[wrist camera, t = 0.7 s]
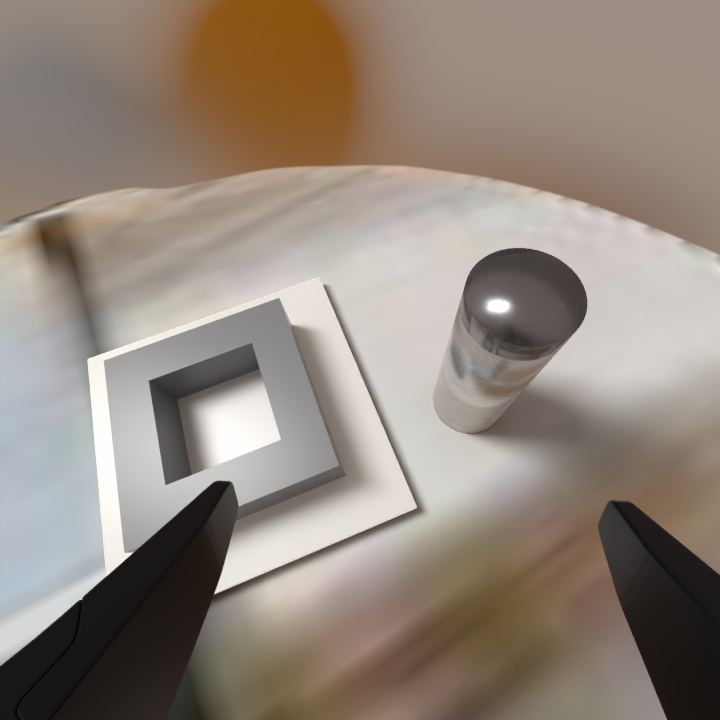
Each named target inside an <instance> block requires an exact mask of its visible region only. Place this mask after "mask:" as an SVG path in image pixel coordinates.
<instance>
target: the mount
mask: <svg viewBox="0 0 720 720" xmlns="http://www.w3.org/2000/svg"><path fill="white" fill-rule="evenodd" d="M88 370H89V382H90V394H91V405H92V417H93V428H94V440H95V451H96V463H97V474H98V486H99V497H100V509H101V520H102V532H103V543H104V555H105V567H106V576H107V575H108V574H110V573H111V572H112V571H113V570H114V569H115V568H116V567H117V566H119V565H120V564H121V563H122V562H123V561H124V560H125V559H127V558H128V557H129V556H130V555H131V554H132V553H133V552H135V551H136V550H137V549H138V548H139V547H140V546H141V545H142V544H144V543H145V542H146V541H147V540H148V539H149V538H150V537H152V536H153V535H154V534H155V533H156V532H157V531H158V530H159V529H161V528H162V527H163V526H164V525H165V524H166V523H167V522H169V521H170V520H171V519H172V518H173V517H174V516H175V515H176V514H178V513H179V512H180V511H181V510H182V509H183V508H184V507H186V506H187V505H188V504H189V503H190V502H191V501H192V500H194V499H195V498H196V497H197V496H198V495H199V494H200V493H201V492H203V491H204V490H205V489H206V488H207V487H208V486H209V485H211V484H212V483H213V482H215V481H218V480H220V481H231V482H232V483H233V485H234V489H235V492H236V496H237V499H238V505H239V507H238V513H237V517H236V521H235V525H234V529H233V533H232V537H231V540H230V544H229V548H228V552H227V556H226V560H225V563H224V567H223V570H222V574H221V577H220V579H219V582H218V585H217V588H216V590H215V593H214V595H215V594H218V593H220V592H222V591H225V590H227V589H229V588H232V587H234V586H237V585H239V584H241V583H244V582H246V581H248V580H251V579H253V578H255V577H258V576H260V575H262V574H265V573H267V572H269V571H272V570H274V569H276V568H279V567H281V566H283V565H286V564H288V563H291V562H293V561H295V560H298V559H300V558H302V557H305V556H307V555H309V554H312V553H314V552H316V551H319V550H321V549H323V548H326V547H328V546H330V545H333V544H335V543H338V542H340V541H342V540H345V539H347V538H349V537H352V536H354V535H356V534H359V533H361V532H363V531H366V530H368V529H370V528H373V527H375V526H377V525H380V524H382V523H384V522H387V521H389V520H392V519H394V518H396V517H399V516H401V515H403V514H406V513H408V512H410V511H413V510H415V509H417V506H416V503H415V501H414V499H413V496H412V494H411V492H410V489H409V487H408V484H407V482H406V480H405V477H404V475H403V473H402V470H401V468H400V466H399V463H398V461H397V459H396V456H395V454H394V451H393V449H392V447H391V444H390V442H389V440H388V437H387V435H386V433H385V430H384V428H383V426H382V423H381V421H380V418H379V416H378V414H377V411H376V409H375V407H374V404H373V402H372V400H371V397H370V395H369V393H368V390H367V388H366V385H365V383H364V381H363V378H362V376H361V374H360V371H359V369H358V367H357V364H356V362H355V360H354V357H353V355H352V352H351V350H350V348H349V345H348V343H347V341H346V338H345V336H344V334H343V331H342V329H341V327H340V324H339V322H338V319H337V317H336V315H335V312H334V310H333V308H332V305H331V303H330V301H329V298H328V296H327V294H326V291H325V289H324V286H323V284H322V282H321V279H320V277H316V278H313V279H311V280H308V281H305V282H302V283H299V284H297V285H294V286H291V287H288V288H285V289H283V290H280V291H277V292H274V293H271V294H269V295H266V296H263V297H260V298H257V299H255V300H252V301H249V302H246V303H243V304H241V305H238V306H235V307H232V308H229V309H227V310H224V311H221V312H218V313H215V314H213V315H210V316H207V317H204V318H201V319H199V320H196V321H193V322H190V323H187V324H185V325H182V326H179V327H176V328H173V329H171V330H168V331H165V332H162V333H159V334H157V335H154V336H151V337H148V338H145V339H143V340H140V341H137V342H134V343H131V344H129V345H126V346H123V347H120V348H117V349H115V350H112V351H109V352H106V353H103V354H101V355H98V356H95V357H92V358H89V359H88Z"/></svg>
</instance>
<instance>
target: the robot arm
mask: <svg viewBox="0 0 720 720" xmlns="http://www.w3.org/2000/svg"><path fill="white" fill-rule="evenodd" d="M238 507H239V505H238V499H237V496H236V492H235V489H234V485H233V483H232V482H231V481H220V480H218V481H215V482H213V483H212V484H211V485H209V486H208V487H207V488H206V489H205V490H204V491H203V492H201V493H200V494H199V495H198V496H197V497H196V498H195V499H194V500H192V501H191V502H190V503H189V504H188V505H187V506H186V507H184V508H183V509H182V510H181V511H180V512H179V513H178V514H176V515H175V516H174V517H173V518H172V519H171V520H170V521H169V522H167V523H166V524H165V525H164V526H163V527H162V528H161V529H159V530H158V531H157V532H156V533H155V534H154V535H153V536H152V537H150V538H149V539H148V540H147V541H146V542H145V543H144V544H142V545H141V546H140V547H139V548H138V549H137V550H136V551H135V552H133V553H132V554H131V555H130V556H129V557H128V558H127V559H125V560H124V561H123V562H122V563H121V564H120V565H119V566H117V567H116V568H115V569H114V570H113V571H112V572H111V573H110V574H108V575H107V576H106V577H105V578H104V579H103V580H102V581H100V582H99V583H98V584H97V585H96V586H95V587H94V588H93V589H91V590H90V591H89V592H88V593H87V594H86V595H85V596H84V597H83V599H82V600H79V601H78V602H76V603H75V604H74V605H73V606H72V607H71V608H70V609H69V610H67V611H66V612H65V613H64V614H63V615H62V616H61V617H59V618H58V619H57V620H56V621H55V622H53V623H52V624H51V625H50V626H49V627H48V628H46V629H45V630H44V631H43V632H42V633H41V634H39V635H38V636H37V637H36V638H35V639H33V640H32V641H31V642H30V643H28V644H27V645H26V646H25V647H23V648H22V649H21V650H20V651H18V652H17V653H16V654H15V655H13V656H12V657H11V658H10V659H8V660H7V661H6V662H5V663H3V664H2V665H1V666H0V720H167V719H168V717H169V714H170V711H171V708H172V706H173V703H174V700H175V698H176V695H177V692H178V690H179V687H180V684H181V682H182V679H183V676H184V674H185V671H186V668H187V666H188V663H189V660H190V658H191V655H192V652H193V649H194V647H195V644H196V641H197V639H198V636H199V633H200V631H201V628H202V625H203V623H204V620H205V617H206V615H207V612H208V609H209V607H210V604H211V601H212V598H213V596H214V593H215V590H216V588H217V585H218V582H219V579H220V577H221V574H222V570H223V567H224V563H225V560H226V556H227V552H228V548H229V544H230V540H231V537H232V533H233V529H234V525H235V521H236V517H237V513H238ZM598 531H599V535H600V538H601V542H602V545H603V549H604V552H605V555H606V559H607V562H608V566H609V569H610V572H611V576H612V579H613V583H614V586H615V589H616V593H617V596H618V599H619V602H620V604H621V607H622V609H623V612H624V615H625V617H626V619H627V622H628V624H629V627H630V629H631V632H632V634H633V637H634V639H635V642H636V644H637V647H638V649H639V651H640V654H641V656H642V659H643V661H644V664H645V666H646V669H647V671H648V674H649V676H650V679H651V681H652V683H653V686H654V688H655V691H656V693H657V696H658V698H659V701H660V703H661V706H662V708H663V710H664V713H665V715H666V718H667V720H720V575H719V574H718V573H717V572H716V571H714V570H713V569H712V568H711V567H710V566H708V565H707V564H706V563H705V562H703V561H702V560H701V559H700V558H699V557H697V556H696V555H695V554H694V553H692V552H691V551H690V550H689V549H688V548H686V547H685V546H684V545H683V544H682V543H680V542H679V541H678V540H677V539H675V538H674V537H673V536H672V535H671V534H669V533H668V532H667V531H666V530H664V529H663V528H662V527H661V526H660V525H658V524H657V523H656V522H655V521H653V520H652V519H651V518H650V517H649V516H647V515H646V514H645V513H644V512H643V511H641V510H640V509H639V508H638V507H636V506H635V505H634V504H633V503H631V502H629V501H625V500H610V501H608V502H607V504H606V506H605V509H604V511H603V513H602V515H601V517H600V519H599V522H598Z"/></svg>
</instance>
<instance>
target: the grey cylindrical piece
mask: <svg viewBox="0 0 720 720" xmlns="http://www.w3.org/2000/svg"><path fill="white" fill-rule="evenodd" d="M586 311H587V296H586V292H585V289H584V286H583V284H582V282H581V281H580V279H579V278H578V276H577V275H576V274H575V272H574V271H573V270H572V269H571V268H570V267H568V266H567V265H566V264H565V263H563V262H562V261H561V260H559V259H557V258H555V257H554V256H552V255H549V254H547V253H544V252H541V251H538V250H533V249H526V248H511V249H505V250H500V251H497V252H494V253H492V254H490V255H488V256H486V257H484V258H483V259H482V260H480V261H479V262H478V263H477V264H476V265H475V266H474V267H473V269H472V270H471V271H470V273H469V275H468V278H467V281H466V284H465V287H464V291H463V294H462V298H461V301H460V305H459V308H458V311H457V315H456V318H455V322H454V325H453V328H452V332H451V335H450V339H449V342H448V345H447V349H446V352H445V356H444V359H443V362H442V366H441V369H440V373H439V376H438V379H437V383H436V386H435V390H434V394H433V404H434V408H435V410H436V413H437V415H438V416H439V418H440V419H441V420H442V421H443V422H444V423H445V424H446V425H447V426H449V427H450V428H452V429H454V430H456V431H459V432H463V433H477V432H481V431H484V430H486V429H488V428H489V427H491V426H492V425H493V424H494V423H495V422H496V421H497V419H498V418H499V417H500V416H501V415H502V414H503V413H504V411H505V410H506V409H507V408H508V407H509V406H510V405H511V404H512V402H513V401H514V400H515V399H516V398H517V397H518V396H519V395H520V393H521V392H522V391H523V390H524V389H525V388H526V387H527V386H528V384H529V383H530V382H531V381H532V380H533V379H534V378H535V377H536V375H537V374H538V373H539V372H540V371H541V370H542V369H543V368H544V366H545V365H546V364H547V363H548V362H549V361H550V360H551V359H552V357H553V356H554V355H555V354H556V353H557V352H558V351H559V350H560V348H561V347H562V346H563V345H564V344H565V343H566V342H567V341H568V339H569V338H570V337H571V336H572V335H573V334H574V333H575V332H576V330H577V329H578V328H579V327H580V325H581V324H582V322H583V320H584V318H585V315H586Z"/></svg>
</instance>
